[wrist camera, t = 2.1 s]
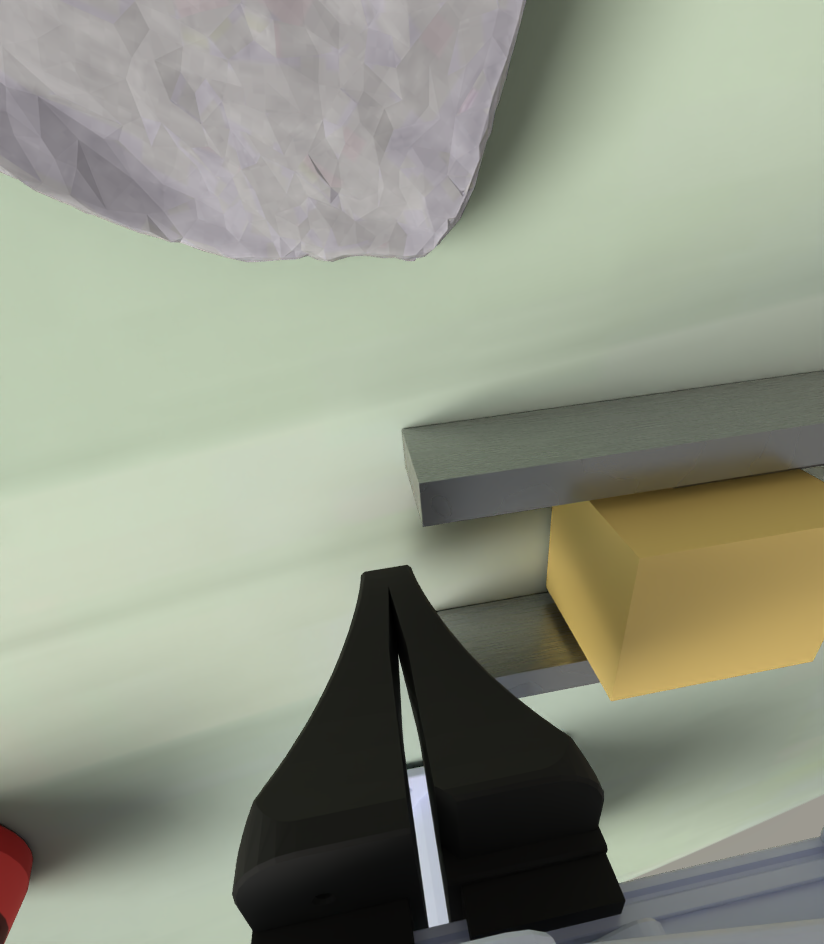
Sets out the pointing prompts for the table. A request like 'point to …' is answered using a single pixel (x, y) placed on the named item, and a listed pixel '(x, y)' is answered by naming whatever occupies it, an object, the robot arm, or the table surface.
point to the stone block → (257, 117)
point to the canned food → (12, 877)
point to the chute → (596, 487)
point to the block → (692, 580)
